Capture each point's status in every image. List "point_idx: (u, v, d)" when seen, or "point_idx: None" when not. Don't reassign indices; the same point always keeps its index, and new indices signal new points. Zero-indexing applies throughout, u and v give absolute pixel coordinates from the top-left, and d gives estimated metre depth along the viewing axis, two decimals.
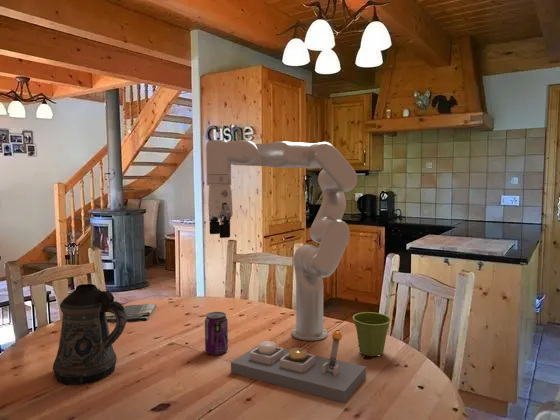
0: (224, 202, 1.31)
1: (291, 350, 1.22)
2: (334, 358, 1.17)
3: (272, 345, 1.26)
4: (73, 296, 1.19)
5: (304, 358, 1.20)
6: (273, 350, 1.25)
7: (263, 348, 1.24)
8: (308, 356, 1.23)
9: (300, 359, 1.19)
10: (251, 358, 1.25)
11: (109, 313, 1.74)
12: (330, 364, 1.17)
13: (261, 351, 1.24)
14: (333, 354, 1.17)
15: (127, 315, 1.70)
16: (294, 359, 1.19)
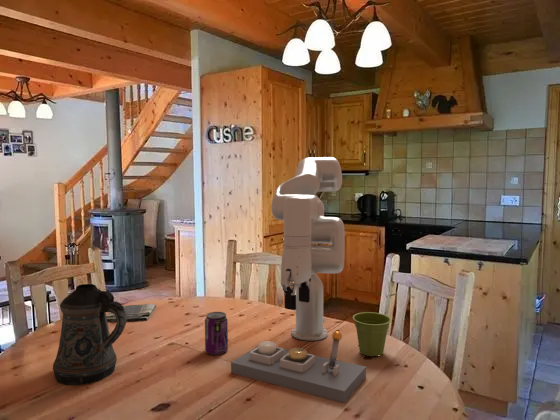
0: None
1: (291, 350, 1.22)
2: (334, 358, 1.17)
3: (272, 345, 1.26)
4: (73, 296, 1.19)
5: (304, 358, 1.20)
6: (273, 350, 1.25)
7: (263, 348, 1.24)
8: (308, 356, 1.23)
9: (300, 359, 1.19)
10: (251, 358, 1.25)
11: (109, 313, 1.74)
12: (330, 364, 1.17)
13: (261, 351, 1.24)
14: (333, 354, 1.17)
15: (127, 315, 1.70)
16: (294, 359, 1.19)
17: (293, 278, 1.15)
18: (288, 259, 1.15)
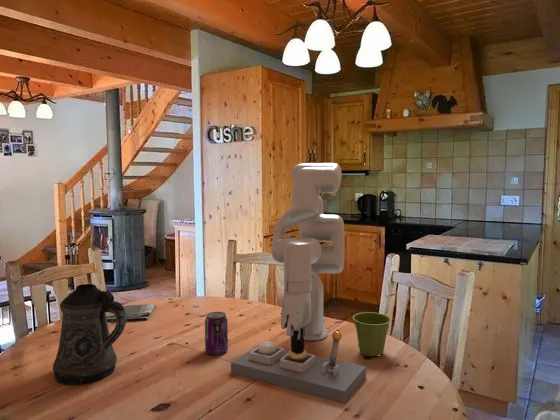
0: None
1: None
2: (334, 358, 1.17)
3: (272, 345, 1.26)
4: (73, 296, 1.19)
5: (304, 358, 1.20)
6: (273, 350, 1.25)
7: (263, 348, 1.24)
8: (308, 356, 1.23)
9: (300, 359, 1.19)
10: (251, 358, 1.25)
11: (109, 313, 1.74)
12: (330, 364, 1.17)
13: (261, 351, 1.24)
14: (333, 354, 1.17)
15: (127, 315, 1.70)
16: (294, 359, 1.19)
17: (293, 324, 1.15)
18: (288, 305, 1.16)
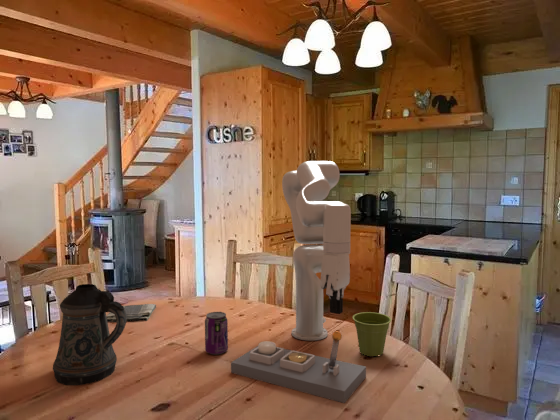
0: None
1: (291, 355, 1.22)
2: (334, 358, 1.17)
3: (272, 345, 1.26)
4: (73, 296, 1.19)
5: None
6: (273, 350, 1.25)
7: (263, 348, 1.24)
8: (308, 356, 1.23)
9: None
10: (251, 358, 1.25)
11: (109, 313, 1.74)
12: (330, 364, 1.17)
13: (261, 351, 1.24)
14: (333, 354, 1.17)
15: (127, 315, 1.70)
16: None
17: (333, 284, 1.17)
18: (328, 265, 1.18)
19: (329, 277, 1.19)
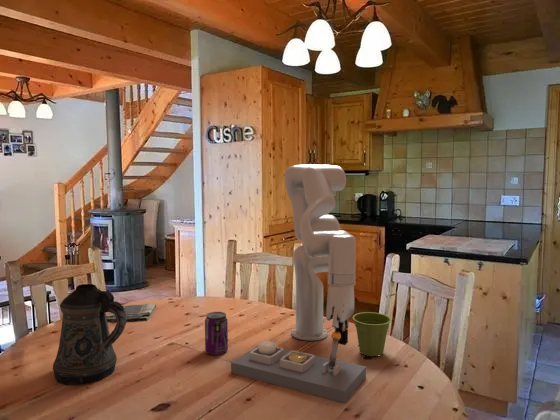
0: None
1: (291, 355, 1.22)
2: (334, 359, 1.17)
3: (272, 345, 1.26)
4: (73, 296, 1.19)
5: None
6: (273, 350, 1.25)
7: (263, 348, 1.24)
8: (308, 356, 1.23)
9: None
10: (251, 358, 1.25)
11: (109, 313, 1.74)
12: (330, 364, 1.17)
13: (261, 351, 1.24)
14: (333, 354, 1.17)
15: (127, 315, 1.70)
16: None
17: (339, 316, 1.17)
18: (334, 297, 1.17)
19: (335, 309, 1.18)
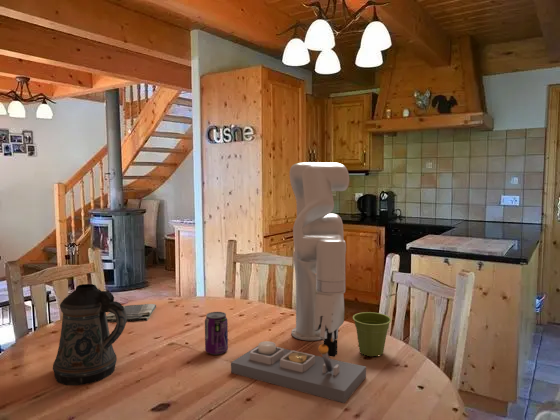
0: None
1: (291, 355, 1.22)
2: (329, 365, 1.14)
3: (272, 345, 1.26)
4: (73, 296, 1.19)
5: None
6: (273, 350, 1.25)
7: (263, 348, 1.24)
8: (308, 356, 1.23)
9: None
10: (251, 358, 1.25)
11: (109, 313, 1.74)
12: (327, 369, 1.15)
13: (261, 351, 1.24)
14: (327, 363, 1.14)
15: (127, 315, 1.70)
16: None
17: (328, 326, 1.09)
18: (322, 306, 1.10)
19: (323, 318, 1.10)
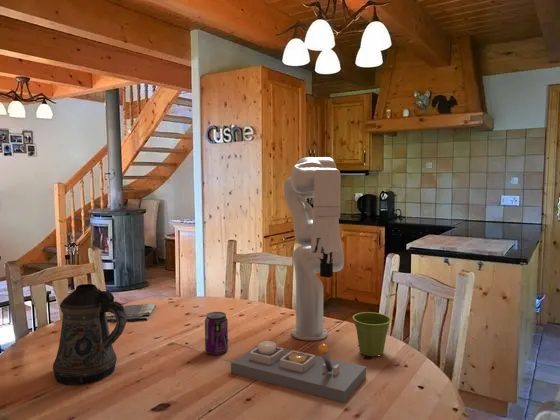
0: None
1: (291, 355, 1.22)
2: (329, 365, 1.14)
3: (272, 345, 1.26)
4: (73, 296, 1.19)
5: None
6: (273, 350, 1.25)
7: (263, 348, 1.24)
8: (308, 356, 1.23)
9: None
10: (251, 358, 1.25)
11: (109, 313, 1.74)
12: (327, 369, 1.15)
13: (261, 351, 1.24)
14: (327, 363, 1.14)
15: (127, 315, 1.70)
16: None
17: (323, 247, 1.19)
18: (319, 228, 1.19)
19: (319, 240, 1.20)
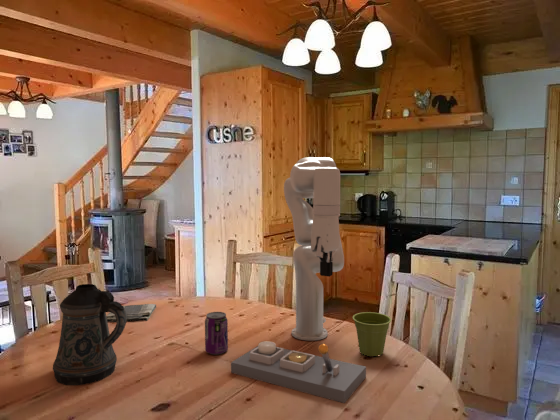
0: None
1: (291, 355, 1.22)
2: (329, 365, 1.14)
3: (272, 345, 1.26)
4: (73, 296, 1.19)
5: None
6: (273, 350, 1.25)
7: (263, 348, 1.24)
8: (308, 356, 1.23)
9: None
10: (251, 358, 1.25)
11: (109, 313, 1.74)
12: (327, 369, 1.15)
13: (261, 351, 1.24)
14: (327, 363, 1.14)
15: (127, 315, 1.70)
16: None
17: (323, 245, 1.19)
18: (318, 227, 1.19)
19: (319, 239, 1.20)
